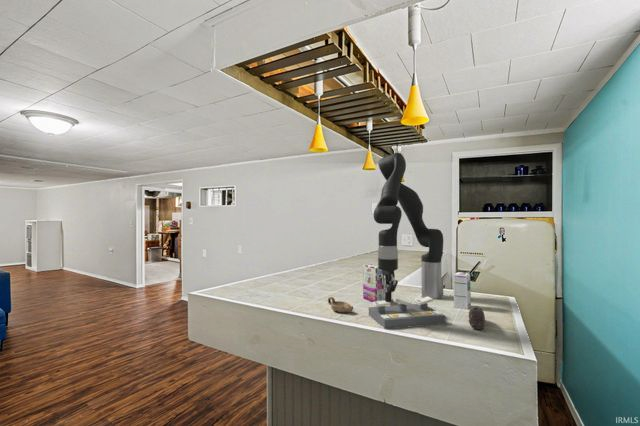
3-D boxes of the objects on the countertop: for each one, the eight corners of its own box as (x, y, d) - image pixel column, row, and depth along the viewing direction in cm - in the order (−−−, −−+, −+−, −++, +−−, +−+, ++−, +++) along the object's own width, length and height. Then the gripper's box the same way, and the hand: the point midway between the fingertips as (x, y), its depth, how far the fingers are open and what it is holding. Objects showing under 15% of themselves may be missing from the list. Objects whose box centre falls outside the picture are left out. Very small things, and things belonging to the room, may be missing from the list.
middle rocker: (407, 303, 128) (407, 300, 128) (411, 305, 125) (412, 303, 125) (393, 301, 127) (394, 298, 127) (397, 303, 124) (398, 300, 124)
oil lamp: (357, 312, 133) (357, 300, 133) (345, 316, 128) (345, 304, 128) (335, 306, 143) (335, 294, 143) (322, 309, 138) (322, 297, 138)
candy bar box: (385, 302, 147) (385, 266, 147) (376, 304, 145) (375, 267, 145) (371, 297, 157) (371, 263, 157) (362, 298, 155) (362, 264, 155)
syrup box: (467, 309, 136) (467, 275, 136) (453, 306, 140) (453, 273, 140) (471, 306, 141) (470, 273, 141) (456, 303, 144) (456, 271, 144)
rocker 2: (428, 298, 130) (427, 296, 130) (433, 301, 127) (432, 298, 127) (415, 302, 129) (414, 300, 129) (419, 305, 125) (419, 302, 125)
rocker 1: (386, 302, 126) (386, 299, 126) (390, 305, 123) (390, 302, 123) (372, 304, 125) (372, 301, 125) (375, 307, 122) (375, 304, 122)
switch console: (422, 310, 134) (422, 298, 134) (445, 323, 119) (445, 309, 119) (368, 314, 129) (368, 302, 129) (384, 328, 114) (384, 314, 114)
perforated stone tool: (469, 318, 125) (469, 300, 125) (484, 320, 122) (484, 302, 122) (468, 331, 111) (468, 310, 111) (485, 333, 109) (485, 313, 109)
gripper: (404, 259, 119) (404, 305, 119) (389, 254, 132) (390, 296, 132) (385, 259, 117) (385, 307, 117) (372, 255, 130) (372, 297, 130)
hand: (388, 301), depth 125 cm, fingers closed
